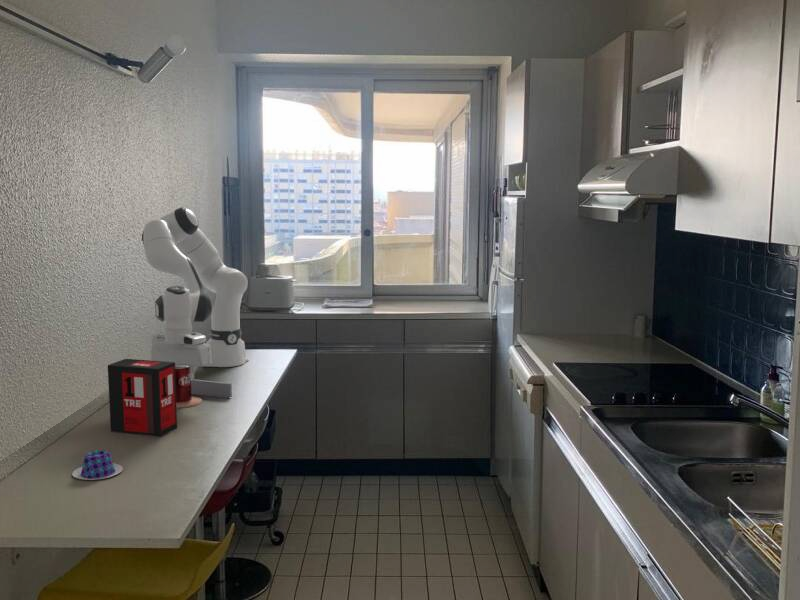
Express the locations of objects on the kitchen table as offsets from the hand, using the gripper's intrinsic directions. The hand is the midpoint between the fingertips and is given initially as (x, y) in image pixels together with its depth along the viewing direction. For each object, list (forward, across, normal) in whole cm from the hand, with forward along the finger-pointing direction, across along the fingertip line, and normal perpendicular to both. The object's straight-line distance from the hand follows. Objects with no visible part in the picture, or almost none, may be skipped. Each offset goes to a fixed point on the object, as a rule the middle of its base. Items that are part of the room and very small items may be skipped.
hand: (179, 377), depth 267 cm
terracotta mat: (+8, 0, 0) cm, 9 cm away
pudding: (+9, +19, -62) cm, 66 cm away
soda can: (+8, 0, 0) cm, 8 cm away
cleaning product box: (+9, +8, -29) cm, 31 cm away
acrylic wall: (+8, 0, +11) cm, 14 cm away
